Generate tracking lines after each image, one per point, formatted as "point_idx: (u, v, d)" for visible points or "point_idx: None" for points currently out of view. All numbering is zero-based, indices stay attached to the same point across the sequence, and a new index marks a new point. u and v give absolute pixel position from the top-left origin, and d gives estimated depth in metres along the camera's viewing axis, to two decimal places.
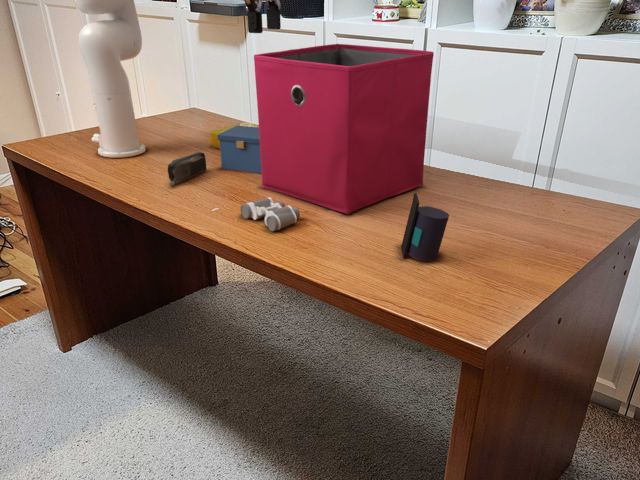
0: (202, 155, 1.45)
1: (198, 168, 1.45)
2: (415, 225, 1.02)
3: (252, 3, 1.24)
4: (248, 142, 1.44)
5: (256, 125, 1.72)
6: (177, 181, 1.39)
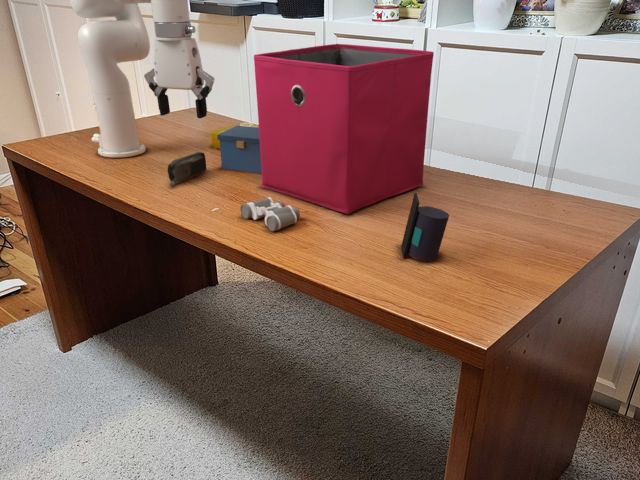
0: (202, 155, 1.45)
1: (198, 168, 1.45)
2: (415, 225, 1.02)
3: (150, 87, 1.34)
4: (248, 142, 1.44)
5: (256, 125, 1.72)
6: (177, 181, 1.39)
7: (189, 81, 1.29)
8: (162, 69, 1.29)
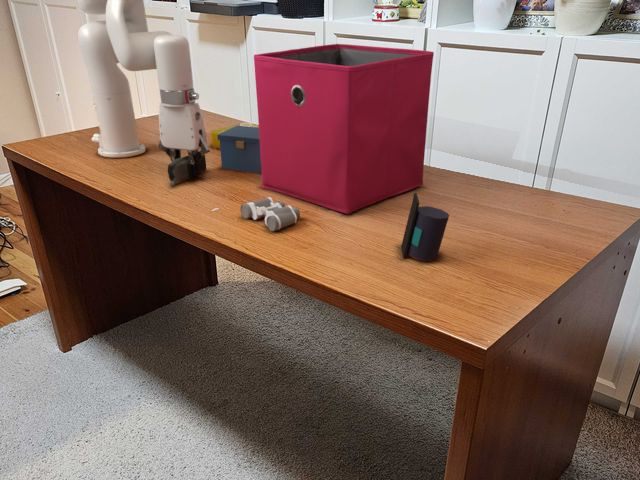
0: None
1: None
2: (415, 225, 1.02)
3: (167, 153, 1.41)
4: (248, 142, 1.44)
5: (256, 125, 1.72)
6: (177, 181, 1.39)
7: (192, 143, 1.36)
8: (167, 132, 1.37)
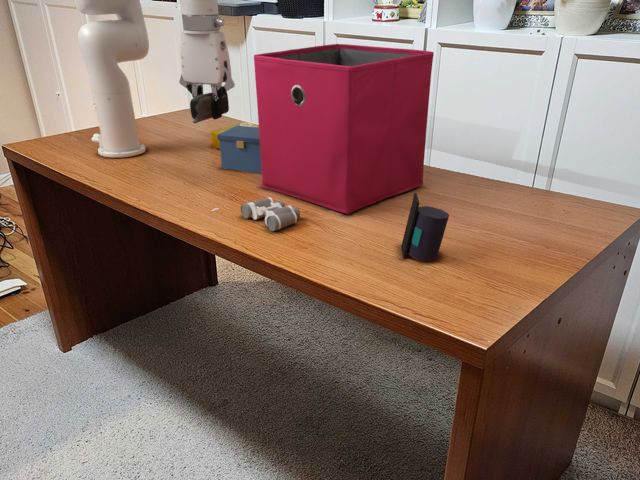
0: (225, 93, 1.35)
1: None
2: (415, 225, 1.02)
3: (189, 89, 1.31)
4: (248, 142, 1.44)
5: (256, 125, 1.72)
6: (200, 119, 1.28)
7: (217, 76, 1.26)
8: (189, 64, 1.26)
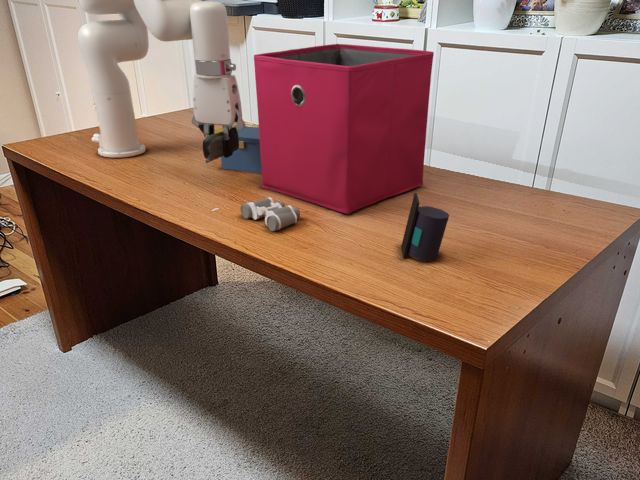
0: None
1: None
2: (415, 225, 1.02)
3: (201, 129, 1.35)
4: (248, 142, 1.44)
5: (256, 125, 1.72)
6: (212, 158, 1.32)
7: (228, 117, 1.29)
8: (201, 105, 1.30)
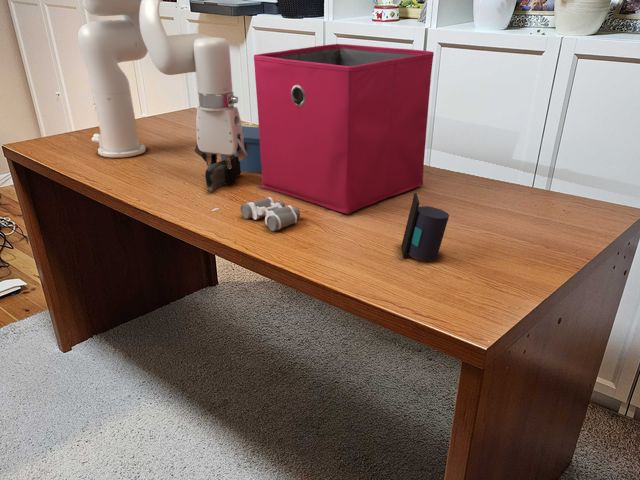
0: None
1: None
2: (415, 225, 1.02)
3: (204, 158, 1.38)
4: (248, 142, 1.44)
5: (256, 125, 1.72)
6: (214, 186, 1.36)
7: (230, 148, 1.33)
8: (204, 136, 1.33)
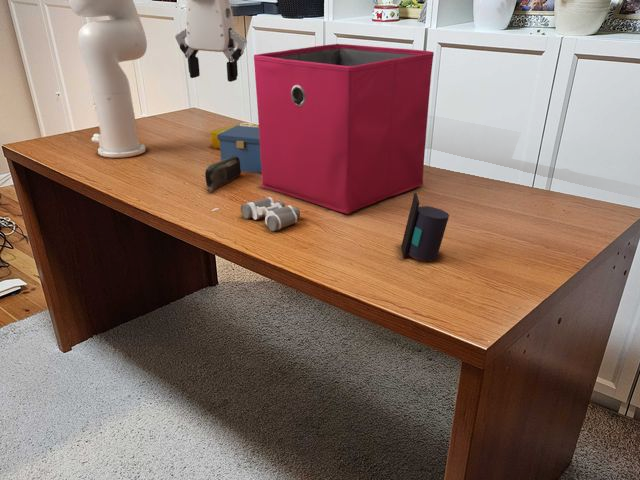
0: (237, 159, 1.42)
1: (233, 172, 1.41)
2: (415, 225, 1.02)
3: (181, 49, 1.33)
4: (248, 142, 1.44)
5: (256, 125, 1.72)
6: (214, 186, 1.36)
7: (221, 43, 1.28)
8: (194, 30, 1.28)
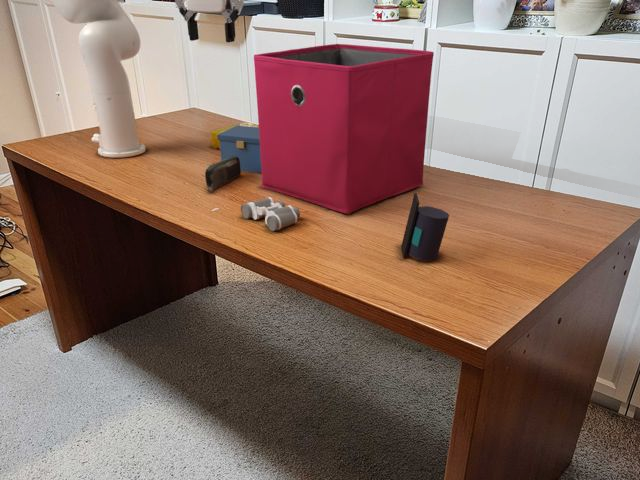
0: (237, 159, 1.42)
1: (233, 172, 1.41)
2: (415, 225, 1.02)
3: (180, 12, 1.39)
4: (248, 142, 1.44)
5: (256, 125, 1.72)
6: (214, 186, 1.36)
7: (219, 4, 1.34)
8: None
